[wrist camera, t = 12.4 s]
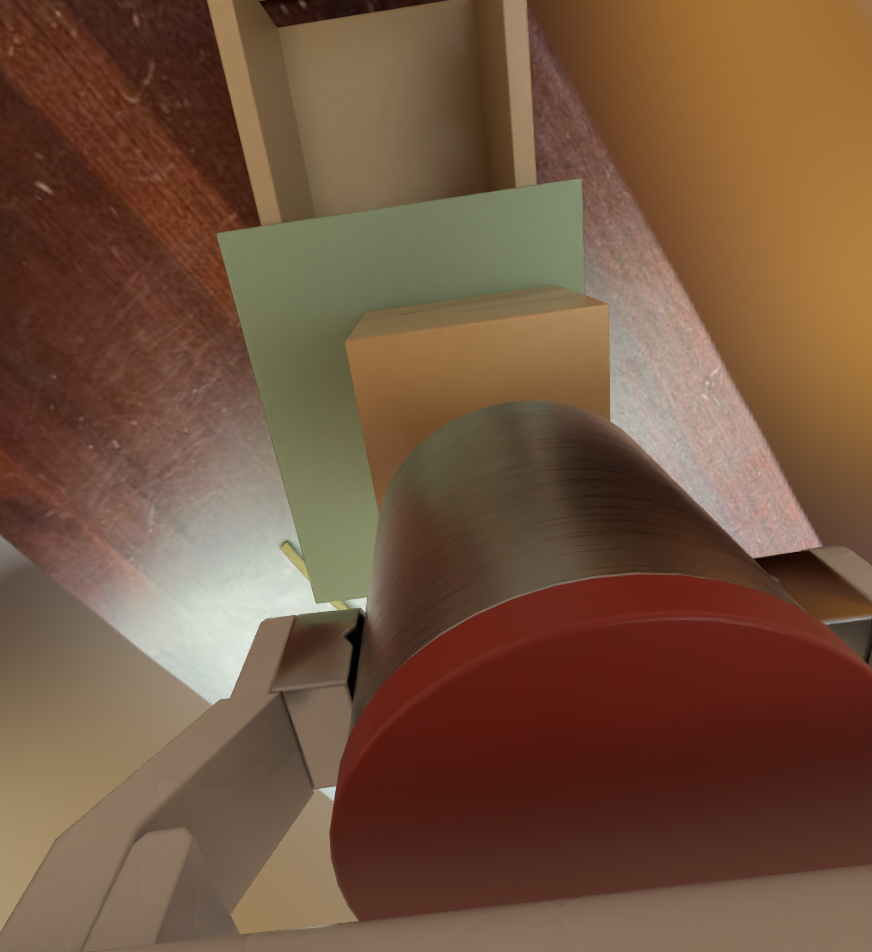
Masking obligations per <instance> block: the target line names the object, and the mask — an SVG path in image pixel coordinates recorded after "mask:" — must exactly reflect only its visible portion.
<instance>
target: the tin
mask: <svg viewBox="0 0 872 952" xmlns="http://www.w3.org/2000/svg"><path fill="white" fill-rule="evenodd" d="M330 851H331V860H332V864H333V868H334V871H335V875H336V879H337V883H338V886H339V888H340V890H341V892H342V894H343V896H344V899H345V900H346V903H347V905H348V907H349V908H350V909H351V911H352V912H353V914H354V915H355V916H356V918H357V919H358V920H359V921H365V920H374V919H383V918H392V917H401V916H410V915H419V914H428V913H437V912H445V911H454V910H463V909H472V908H481V907H490V906H499V905H508V904H517V903H526V902H535V901H544V900H553V899H562V898H571V897H580V896H589V895H598V894H607V893H616V892H625V891H634V890H643V889H652V888H661V887H670V886H679V885H688V884H697V883H706V882H715V881H724V880H733V879H742V878H751V877H759V876H768V875H777V874H786V873H795V872H803V871H812V870H821V869H830V868H838V867H847V866H856V865H865V864H872V668H871V667H870V666H869V665H868V664H867V663H866V662H865V661H864V660H863V659H862V658H861V657H860V656H859V655H858V654H857V653H856V652H855V651H853V650H852V649H851V648H850V647H849V646H848V645H847V644H846V643H845V642H844V641H843V640H842V639H841V638H840V637H838V636H837V635H836V634H835V633H834V632H833V631H832V630H830V629H829V628H828V627H827V626H826V625H825V624H824V623H822V622H820V621H819V620H817V619H816V618H814V617H812V616H811V615H809V614H808V613H807V612H806V611H805V610H804V609H803V608H802V607H801V606H800V605H799V604H798V603H797V602H796V601H795V600H794V599H793V598H792V597H791V596H790V595H789V594H788V593H787V592H786V591H785V590H784V589H783V588H782V587H781V586H780V585H779V584H778V583H777V582H776V581H775V580H774V579H773V578H772V577H771V576H770V575H769V574H768V573H767V572H766V571H765V570H764V569H763V568H762V567H761V566H760V565H759V564H758V563H757V562H756V561H755V560H754V559H753V558H752V557H751V556H750V555H749V554H748V553H747V552H746V551H745V550H744V549H743V548H742V547H741V546H740V545H739V544H738V543H737V542H736V541H735V540H734V539H733V538H732V537H731V536H730V535H729V534H728V533H727V532H726V531H725V530H724V529H723V528H722V527H721V526H720V525H719V524H718V523H717V522H716V521H715V520H714V519H713V518H712V517H711V516H710V515H709V514H708V513H707V512H706V511H705V510H704V509H703V508H702V507H701V506H700V505H699V504H698V503H697V502H696V501H694V500H693V499H692V498H691V497H690V496H689V495H688V494H687V493H686V492H685V491H684V490H683V489H682V488H681V487H680V486H679V485H678V484H677V483H676V482H675V481H674V480H673V479H672V478H671V477H670V476H669V475H668V474H667V473H666V472H665V471H664V470H663V469H662V468H661V467H660V466H659V465H658V464H657V463H656V462H655V461H654V460H653V459H652V458H651V457H650V456H649V455H648V454H647V453H646V452H645V451H644V450H643V449H642V448H641V447H640V446H639V445H638V444H637V443H636V442H635V441H634V440H633V439H632V438H631V437H630V436H629V435H627V434H626V433H625V432H624V431H623V430H622V429H621V428H619V427H618V426H616V425H615V424H613V423H612V422H610V421H608V420H607V419H605V418H603V417H601V416H599V415H597V414H595V413H593V412H591V411H588V410H586V409H582V408H579V407H576V406H573V405H569V404H564V403H558V402H552V401H538V400H524V401H513V402H505V403H500V404H496V405H491V406H487V407H483V408H481V409H478V410H475V411H472V412H469V413H467V414H464V415H462V416H460V417H458V418H456V419H454V420H452V421H450V422H449V423H447V424H445V425H444V426H442V427H441V428H439V429H438V430H436V431H435V432H433V433H432V434H430V435H429V436H428V437H427V438H426V439H425V440H424V441H422V442H421V443H420V444H419V445H418V446H417V447H416V448H415V449H414V450H413V451H412V452H411V453H410V454H409V456H408V457H407V458H406V459H405V460H404V461H403V463H402V464H401V466H400V467H399V469H398V470H397V472H396V473H395V475H394V476H393V478H392V480H391V482H390V484H389V486H388V488H387V490H386V492H385V495H384V498H383V501H382V504H381V508H380V511H379V518H378V524H377V531H376V538H375V546H374V553H373V560H372V567H371V575H370V582H369V589H368V596H367V604H366V611H365V618H364V625H363V633H362V640H361V647H360V654H359V662H358V669H357V676H356V683H355V691H354V698H353V705H352V712H351V720H350V727H349V734H348V740H347V743H346V746H345V749H344V752H343V755H342V758H341V761H340V766H339V772H338V779H337V785H336V792H335V799H334V807H333V813H332V819H331V826H330Z"/></svg>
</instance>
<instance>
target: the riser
mask: <svg viewBox="0 0 872 952" xmlns="http://www.w3.org/2000/svg"><path fill="white" fill-rule="evenodd" d="M345 347H346V352H347V357H348V362H349V367H350V372H351V377H352V382H353V387H354V392H355V397H356V402H357V407H358V412H359V417H360V422H361V427H362V432H363V437H364V442H365V447H366V452H367V457H368V462H369V468H370V473H371V478H372V483H373V488H374V493H375V498H376V503H377V508H378V513H379V511H380V508H381V504H382V501H383V498H384V495H385V492H386V490H387V488H388V486H389V484H390V482H391V480H392V478H393V476H394V475H395V473H396V472H397V470H398V469H399V467H400V466H401V464H402V463H403V461H404V460H405V459H406V458H407V457H408V456H409V454H410V453H411V452H412V451H413V450H414V449H415V448H416V447H417V446H418V445H419V444H420V443H421V442H422V441H424V440H425V439H426V438H427V437H428V436H429V435H430V434H432V433H433V432H435V431H436V430H438V429H439V428H441V427H442V426H444V425H445V424H447V423H449V422H450V421H452V420H454V419H456V418H458V417H460V416H462V415H464V414H467V413H469V412H472V411H475V410H478V409H481V408H483V407H487V406H491V405H496V404H500V403H505V402H513V401H524V400H538V401H552V402H558V403H564V404H569V405H573V406H576V407H579V408H582V409H586V410H588V411H591V412H593V413H595V414H597V415H599V416H601V417H603V418H605V419H607V420H608V421H610V360H609V305H608V304H607V303H604V302H602V301H599V300H596V299H594V298H591V297H588V296H586V295H583V294H580V293H578V292H575V291H572V290H570V289H567V288H564V287H562V286H559V285H549V286H542V287H535V288H528V289H521V290H514V291H507V292H501V293H494V294H487V295H480V296H473V297H466V298H459V299H452V300H445V301H438V302H432V303H425V304H418V305H411V306H404V307H397V308H390V309H383V310H376V311H369V312H366V313H365V314H364V315H363V317H362V318H361V320H360V321H359V322H358V324H357V325H356V327H355V328H354V330H353V331H352V332H351V334H350V335H349V337H348V338H347V340H346V341H345Z"/></svg>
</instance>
